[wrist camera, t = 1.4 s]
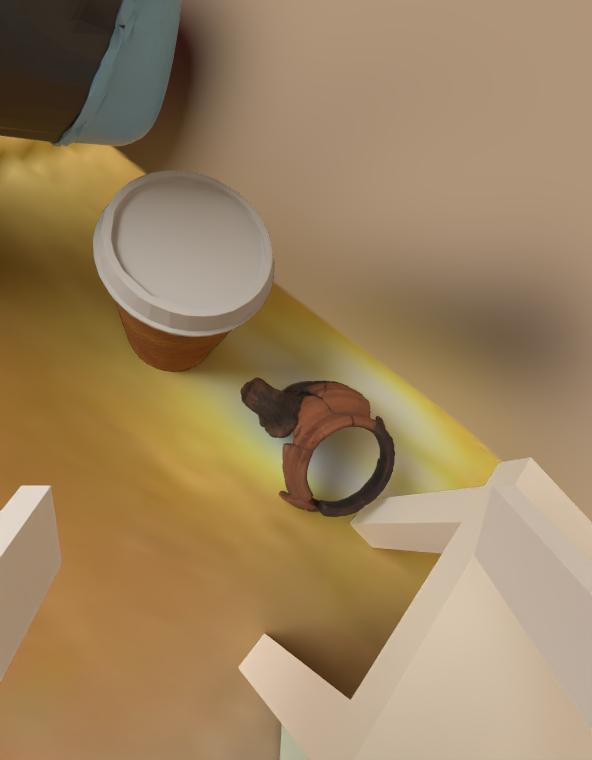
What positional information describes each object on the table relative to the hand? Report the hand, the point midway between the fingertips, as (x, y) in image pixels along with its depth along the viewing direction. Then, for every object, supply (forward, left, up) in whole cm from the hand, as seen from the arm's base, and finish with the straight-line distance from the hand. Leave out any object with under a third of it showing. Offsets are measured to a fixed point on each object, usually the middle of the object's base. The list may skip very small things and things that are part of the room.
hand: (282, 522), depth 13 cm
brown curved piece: (+1, +10, -19) cm, 21 cm away
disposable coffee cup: (-12, +8, -19) cm, 23 cm away
